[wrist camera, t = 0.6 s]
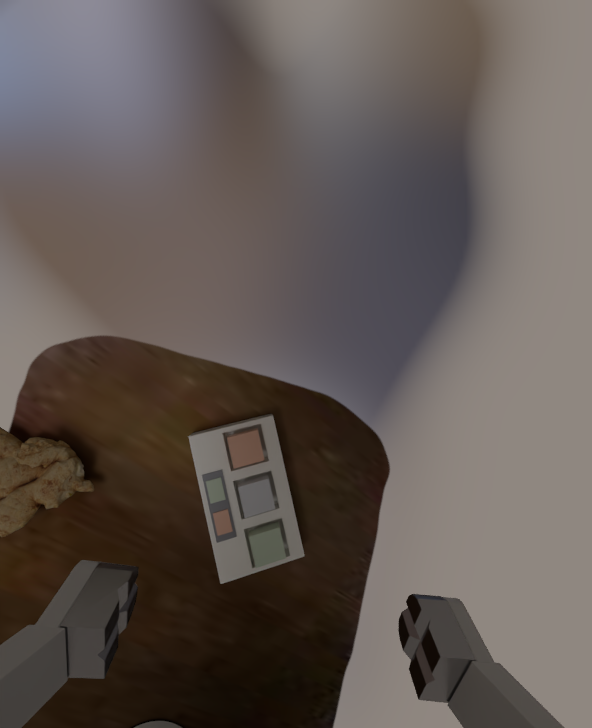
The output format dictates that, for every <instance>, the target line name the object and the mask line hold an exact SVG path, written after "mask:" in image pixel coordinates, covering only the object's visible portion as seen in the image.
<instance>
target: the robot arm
mask: <svg viewBox="0 0 592 728" xmlns="http://www.w3.org/2000/svg"><path fill="white" fill-rule="evenodd" d="M137 577H138V567H136V566H128V565H120V564H112V563H104V562H96V561H87V560H81V561H80V562H79V563H78V564H77V565H76V566H75V567H74V569H73V570H72V572H71V573H70V575H69V576H68V578H67V579H66V580H65V582H64V583H63V585H62V586H61V588H60V589H59V591H58V592H57V594H56V595H55V597H54V598H53V600H52V601H51V602H50V604H49V605H48V607H47V608H46V610H45V611H44V613H43V614H42V616H41V617H40V619H39V620H38V622H37V623H36V624H35V625H28V626H26V627H25V628H24V629H22V630H21V631H19V632H18V633H17V634H15V635H14V636H12V637H11V638H10V639H8V640H7V641H5V642H4V643H3V644H1V645H0V728H21V727H22V726H23V725H24V724H25V723H26V722H27V721H28V720H29V719H30V718H31V717H32V716H33V715H34V714H35V713H36V712H37V711H38V710H39V709H40V708H41V707H42V706H43V705H44V704H45V703H46V702H47V701H48V700H49V699H50V698H51V697H52V696H53V695H54V694H55V693H56V692H57V691H58V690H59V689H60V688H61V686H62V685H63V684H64V683H65V682H66V681H67V680H68V678H67V677H69V678H99V679H104V678H105V676H106V674H107V671H108V669H109V667H110V664H111V662H112V660H113V657H114V655H115V653H116V650H117V648H118V635H119V633H121V632H122V631H123V630H124V629H125V628H126V627H127V625H128V622H129V620H130V617H131V615H132V612H133V609H134V605H135V602H136V597H137V590H138V586H137V585H136V584H135V582H136V579H137ZM406 603H407V606H408V608H407V609H406V610H404V611H403V612H402V613H401V616H400V618H399V636H400V641H401V644H402V648H403V651H404V652H405V653H406V654H407V655H408V657H409V658H410V659H411V663H410V668H409V670H410V674H411V677H412V680H413V683H414V686H415V690H416V693H417V696H418V699H419V700H426V701H435V702H445V703H448V706H449V708H450V709H451V710H452V712H453V713H454V715H455V716H456V718H457V719H458V720H459V722H460V723H461V725H462V726H463V727H464V728H564V727H563V726H562V725H561V724H560V723H559V722H558V721H557V720H556V719H555V718H554V717H553V716H552V715H551V714H550V713H549V712H548V711H547V710H546V709H545V708H544V707H543V706H542V705H541V704H540V703H539V702H538V701H537V700H536V699H535V698H534V697H533V696H532V695H531V694H530V693H529V692H528V691H527V690H526V689H525V688H524V687H523V686H522V685H521V684H520V683H519V682H518V681H517V680H516V679H515V678H514V677H513V676H512V675H511V674H510V673H509V672H508V671H507V670H506V669H505V668H503V666H502V665H501V664H499V663H495V662H494V661H493V659H492V657H491V655H490V653H489V652H488V649H487V647H486V646H485V644H484V642H483V640H482V638H481V636H480V634H479V632H478V631H477V629H476V627H475V625H474V623H473V621H472V619H471V617H470V616H469V614H468V612H467V610H466V608H465V606H464V604H463V603H462V602H461V601H460V600H459V599H456V598H446V597H441V596H430V595H418V594H412V595H410V596H409V597H408V599H407V601H406ZM134 728H182V727H180V726H178V725H176V724H174V723H171V722H166V721H152V722H147V723H144V724H141V725H138V726H136V727H134Z"/></svg>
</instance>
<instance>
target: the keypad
mask: <svg viewBox="0 0 592 728" xmlns="http://www.w3.org/2000/svg"><path fill="white" fill-rule="evenodd" d="M256 428H257V429H258V433H259V437H260V442H261V446H262V451H263V455H264V461H260V462H256V463H253V464H249V465H245V466H242V467H238V468H234V467H233V463H232V458H231V453H230V449H229V444H228V440H227V437H228V436H229V435H233V434H237V433H241V432H245V431H249V430H252V429H256ZM189 442H190V446H191V451H192V455H193V460H194V464H195V469H196V474H197V478H198V483H199V487H200V492H201V497H202V501H203V506H204V510H205V515H206V519H207V524H208V529H209V533H210V538H211V542H212V547H213V552H214V556H215V561H216V565H217V570H218V574H219V579H220V584H223V583H226V582H229V581H232V580H235V579H238V578H241V577H244V576H247V575H250V574H253V573H256V572H259V571H262V570H265V569H268V568H271V567H274V566H277V565H280V564H283V563H286V562H289V561H292V560H295V559H298V558H301V557H304V556H305V555H304V551H303V546H302V542H301V538H300V533H299V529H298V524H297V520H296V515H295V511H294V506H293V502H292V498H291V493H290V489H289V484H288V480H287V475H286V471H285V466H284V462H283V458H282V453H281V449H280V444H279V440H278V435H277V431H276V426H275V422H274V418H273V415H272V414H267V415H263V416H259V417H255V418H251V419H247V420H243V421H239V422H235V423H231V424H227V425H223V426H219V427H215V428H211V429H207V430H203V431H199V432H195V433H192V434H191V435H190V436H189ZM266 475H268V478H269V482H270V487H271V491H272V496H273V500H274V505H275V509H274V510H270V511H267V512H264V513H260V514H257V515H254V516H251V517H247V518H245V517H244V512H243V508H242V503H241V499H240V494H239V490H238V483H241V482H244V481H248V480H251V479H255V478H259V477H262V476H266ZM276 522H278V523H279V527H280V531H281V536H282V540H283V545H284V549H285V554H286V558H285V559H282V560H279V561H276V562H273V563H270V564H267V565H264V566H261V567H258V568H256V567H255V562H254V558H253V553H252V548H251V544H250V539H249V531H250V530H254V529H257V528H260V527H263V526H267V525H270V524H273V523H276Z"/></svg>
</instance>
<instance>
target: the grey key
mask: <svg viewBox="0 0 592 728" xmlns="http://www.w3.org/2000/svg"><path fill="white" fill-rule="evenodd" d="M238 490H239V494H240V499H241V503H242V508H243V512H244V517H245V518H247V517H251V516H254V515H257V514H260V513H264V512H267V511H270V510H274V509H275V505H274V500H273V496H272V491H271V487H270V482H269V478H268V475H266V476H262V477H259V478H255V479H251V480H248V481H244V482H241V483H238Z"/></svg>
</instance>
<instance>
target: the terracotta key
mask: <svg viewBox="0 0 592 728" xmlns="http://www.w3.org/2000/svg"><path fill="white" fill-rule="evenodd" d="M227 440H228V444H229V449H230V453H231V458H232V463H233V467H234V468H238V467H242V466H245V465H249V464H253V463H256V462H260V461H264V455H263V451H262V446H261V442H260V437H259V433H258V429H257V428H256V429H252V430H249V431H245V432H241V433H237V434H233V435H229V436H228V437H227Z"/></svg>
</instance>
